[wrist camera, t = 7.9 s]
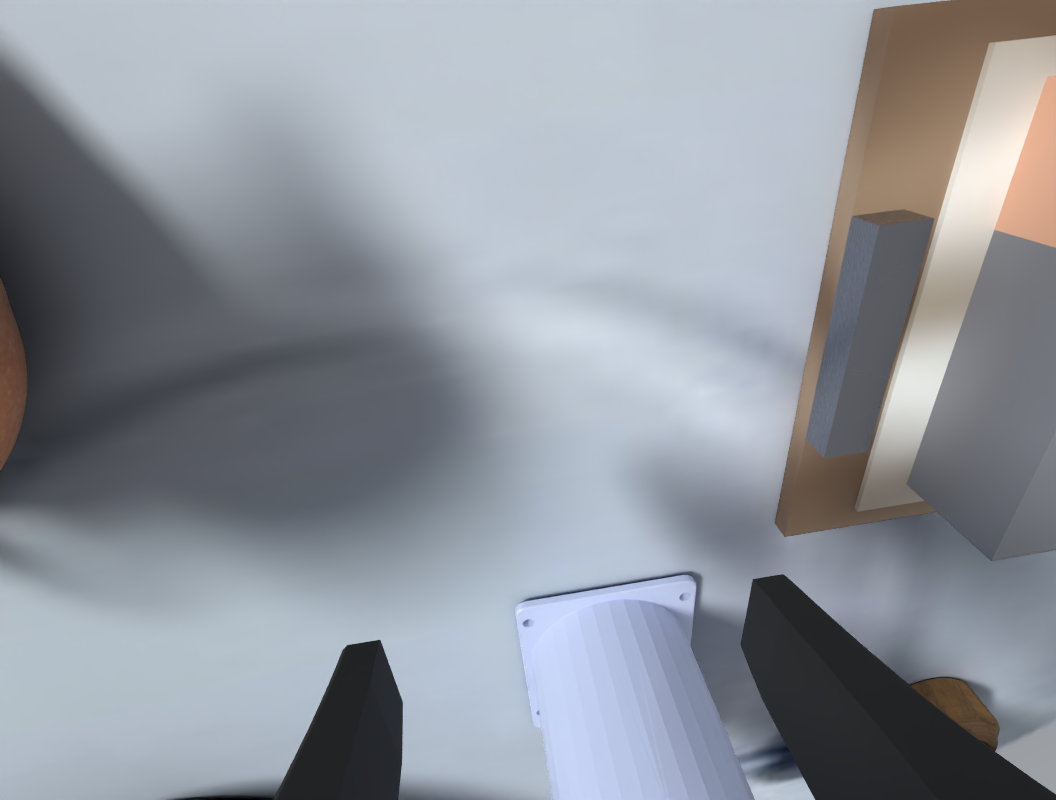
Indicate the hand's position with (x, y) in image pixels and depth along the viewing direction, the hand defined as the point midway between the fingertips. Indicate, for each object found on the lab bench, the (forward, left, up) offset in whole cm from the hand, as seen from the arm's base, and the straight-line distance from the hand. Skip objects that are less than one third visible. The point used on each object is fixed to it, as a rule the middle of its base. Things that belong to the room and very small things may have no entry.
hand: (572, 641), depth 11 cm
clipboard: (+1, -17, -9) cm, 19 cm away
